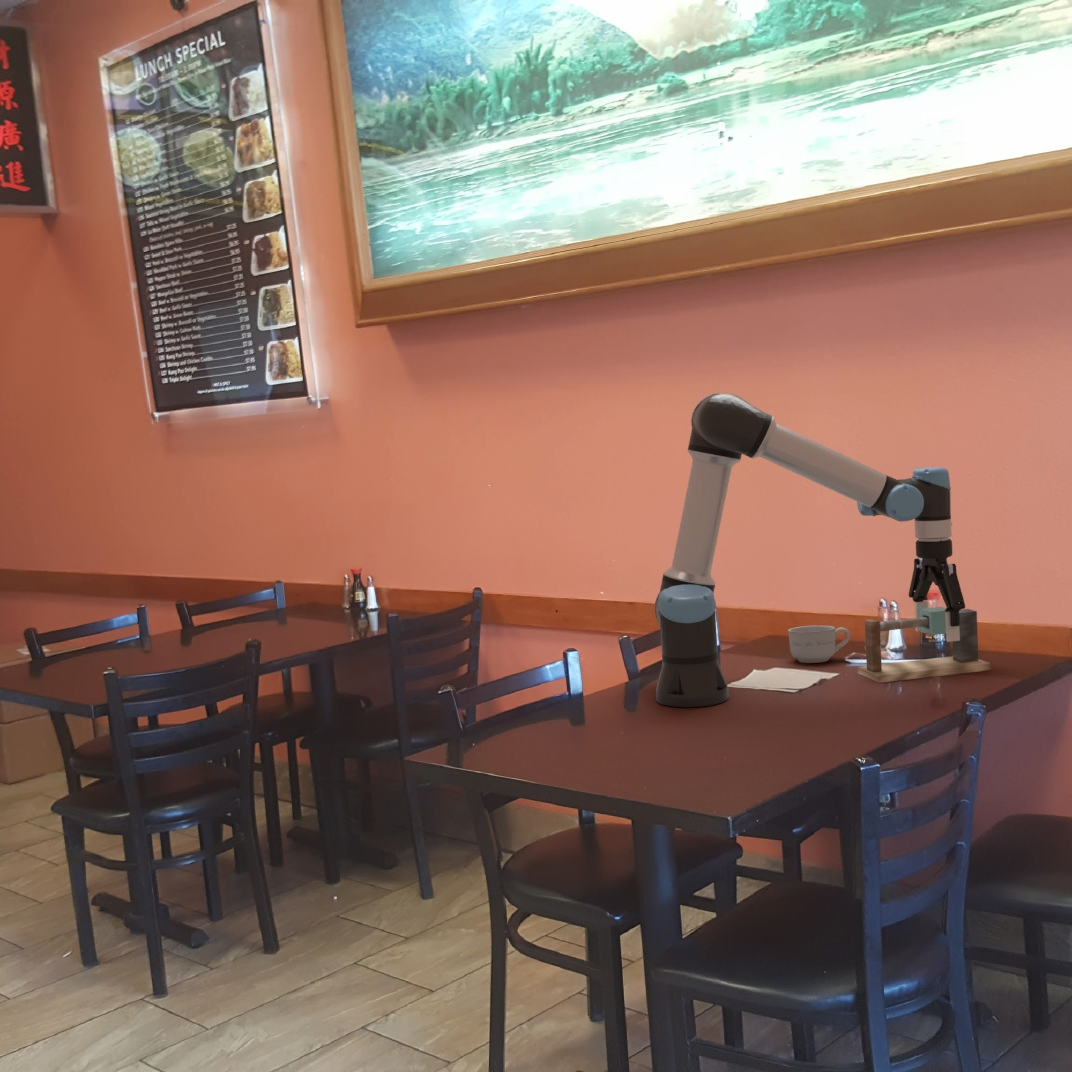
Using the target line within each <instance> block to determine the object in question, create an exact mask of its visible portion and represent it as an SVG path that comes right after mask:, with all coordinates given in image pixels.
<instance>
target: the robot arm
mask: <svg viewBox="0 0 1072 1072" xmlns="http://www.w3.org/2000/svg"><path fill="white" fill-rule="evenodd" d="M690 423H691V431H690V435H689V443H688V446H687V452H688V454H689V456H690V457H691V459H692V462H691V468H690V473H689V478H688V482H687V488H686V493H685V497H684V503H683V509H682V512H681V513H682V514H681V517H680V523H679V528H678V534H677V539H676V543H675V549H674V553H673V559H672V564H671V566H670V567H669V568H668V569H666V570H664V572H663V573H662V579H661V583H660V588H659V593H658V594H657V597H656V598H655V600H654V602H655V603H654V614H655V618H656V620H657V621H656V622H657V623H658V625H659V627H660V629H659V630H660V642H661V643H660V644H661V659H662V660H661V662H662V664H661V669H660V672H659V677H658V680H657V684H656V688H655V699H656V702H657V703H658V704H660V705H664V706H668V707H675V708H697V707H698V708H699V707H708V706H714V705H718V704H721V703H724V702H726V701H728V699H729V697H730V696H729V686H728V683H727V680H726V678H725V676H724V674H723V673H724V672H723V671H722V669H721V666H720V663H719V655H718V639H717V638H718V634H717V619H716V617H717V615H716V608H717V604H716V603H717V602H716V600H715V594H714V593H715V589H716V581H715V580H714V578H713V576H712V574H711V572H712V567H713V562H714V557H715V552H716V548H717V543H718V537H719V532H720V527H721V522H722V518H723V512H724V507H725V505H726V504H725V502H726V500H727V499H726V498H727V493H728V488H729V483H730V478H731V473H732V468H733V467H734V466H735V465H736V464H738V463H739V462H740V461H741V458H742V455H743V456H747V457H748V458H750V459H755V458H762V459H764V460H766V461H769V462H770V463H773V464H775V465H777V466H779V467H781V468H783V469H786V470H787V471H789V472H792V473H795V475H799V476H801V477H803V478H805V479H807V480H809V481H811V482H814V483H815V484H818V485H820V486H822V487H825V488H827V489H829V490H831V491H833V492H834V493H835V492H836V493H837V494H839V495H842V496H844V497H846V498H848V499H851V500H852V501H855V502H856V504H857V505H856V507H857V510H858V512H859V514H860V515H861V516H863V517H864V516H865V517H869V516H870V517H871V516H872V517H876V516H884V517H887V518H890V519H893V520H895V521H897V522H902V523H904V522H909V521H910V522H911V521H912V520H914V536H915V538H916V541H915V556H916V558H914V560H913V571H912V577H911V581H910V585H909V586H910V587H909V590H908V597H909V599H910V598H912V601H913V603H914V618H920V609H923V608H929V607H928V605H929V603H928V601H929V599H928V593H929V591H930V588H931V587H932V585H933V584H934V585H935V586H937V587H938V589H939V592H940V594H941V597H942V600H943V601H944V604H945V608H946V609H945V618H946V634H945V635H946V637H945V639H946V640H945V641H946V642H948V643H950V642H952V641H960V630H959V611H960V610H963V609H966V603H965V600H964V596H963V592H962V588H961V585H960V581H959V578H958V574H957V573H958V572H957V565H956V563H948V560H947V559H948V558H951V557H952V556H953V540H952V539H950V538H951V537H952V527H953V522H952V513H951V512H952V511H951V510H952V509H951V505H952V504H951V490H952V488H951V480H950V473H949V470H948V469H947V468H945V467H941V466H938V467H937V466H936V467H935V466H933V467H932V466H931V467H922V468H915V469H914V470H913V471H912V476H911V477H909V478H903V479H901V478H900V479H896V478H894V477H892V476H889V475H887V474H885V473H884V472H881V471H879V470H877V469H875V468H873V467H871V466H869V465H866V464H865V463H862V462H860V461H859V460H858V461H857V460H855V458H854V459H853V458H851V457H850V456H847V455H845V454H842V453H841V452H839V451H836V450H835V449H833V448H830V447H828V446H826V445H823V444H821V443H819V442H817V441H815V440H813V439H811V438H808V437H806V436H804V435H803V434H800V433H798V432H795V431H794V430H792V429H789V428H787V427H785V426H783V425H781V424H778V423H777V422H776V420H775V417H774V416H773V415H771V414H769V413H767V412H765V411H763V410H761V409H759V407H758V408H757V407H756V406H754V405H752V404H751V403H750V402H748V401H747V400H745V399H743V398H742V397H740V396H739V395H736V394H733V393H730V392H729V393H727V392H726V393H725V392H724V393H723V392H722V393H721V392H719V393H712V394H710V395H707V396H706V397H704V398H703V399H702V400H700V401H699V402H698V404H697V405H696V406H695V408H694V409H693V412H692V415H691V421H690ZM915 632H922V631H921V627H916V628H915Z"/></svg>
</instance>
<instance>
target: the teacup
mask: <svg viewBox="0 0 1072 1072" xmlns="http://www.w3.org/2000/svg"><path fill="white" fill-rule="evenodd" d="M787 632H788V639H789V640H788V641H789V650H790V654H791V656H792V657H794V659H796V660H797V661H798V662H799V663H804V664H811V663H812V664H813V663H814V664H816V663H817V664H818V663H825V662H828V661H829V660H830V658H831V657H833V655H834V654H835V653H837V652H838V651H839V650H840V649H841V648H842V647H845V645H847V644H848V642H849V641H850V637H851V634H850V631H849V630H848V629H847V628H846V627H838V628H836V627H835V626H831V625H806V626H805V625H803V626H797V627H792V628H788V630H787ZM841 632H843V633H844V634H845V636H844V637H845V638H844V639H843V640H842V641H841V642H840V643H838V644H836V639H837V637H838V634H839V633H841Z"/></svg>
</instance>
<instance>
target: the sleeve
mask: <svg viewBox="0 0 1072 1072" xmlns="http://www.w3.org/2000/svg"><path fill="white" fill-rule="evenodd" d="M946 608H947V607H943V606H934V607H928V608H923V609H920V618H923V617H929V626H925V627H921V631H920V632H922V633H925V634H928V635H931V636H935V635H936V636H937V635H944V634H945V635H946V618H945V609H946Z"/></svg>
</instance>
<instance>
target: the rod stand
mask: <svg viewBox="0 0 1072 1072" xmlns="http://www.w3.org/2000/svg"><path fill="white" fill-rule="evenodd" d="M925 626H929V617H923V618H915V617H914V618H913V617H912V618H905V619H895V620H887V621H880V620H877V619H874V618H872V619H871V618H869V619H865V620H864V632H865V633H864V634H865V636H864V637H865V653H866V654H865V658H866V665H862V666H861V665H860V666H857V674H858V675H860V676H863V677H865V678H866V679H869V680H871V681H874V682H876V683H889V682H896V681H897V682H898V681H906V680H914V679H915V680H916V679H922V678H923V679H924V678H925V679H926V678H932V677H942V676H951V675H960V674H968V673H977V672H984V671H986V672H987V671H991V670H992V668H991V667H992V666H991V665H992V664H991V662H988V661H985V660H983V659H980V658H979V643H978V642H979V639H978V637H979V636H978V612H977V610H974V609H970V608H965V609H961V610H960V611H959V630H960V641H951V642H952V643H951V644H952V656H944V657H943V656H942V657H934V658H926V659H915V660H908V661H899V662H890V663H882V647H881V646H882V645H881V644H882V643H881V632H886V631H895V630H904V629H906V630H907V629H913V628H915V629H916V627H925Z"/></svg>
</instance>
